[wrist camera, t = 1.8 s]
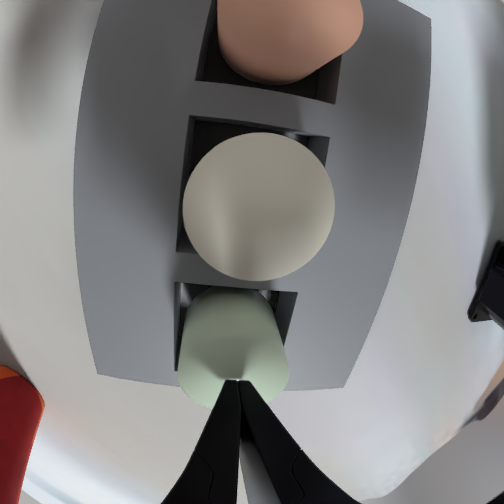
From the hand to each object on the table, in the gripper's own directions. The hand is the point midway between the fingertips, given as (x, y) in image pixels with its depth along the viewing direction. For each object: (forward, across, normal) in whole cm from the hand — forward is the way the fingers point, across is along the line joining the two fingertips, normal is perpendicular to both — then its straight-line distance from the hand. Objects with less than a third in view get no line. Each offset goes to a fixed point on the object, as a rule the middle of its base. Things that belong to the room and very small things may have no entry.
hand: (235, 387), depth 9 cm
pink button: (+4, 0, -12) cm, 13 cm away
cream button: (+4, 0, -6) cm, 7 cm away
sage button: (+4, 0, 0) cm, 4 cm away
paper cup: (+6, +17, +12) cm, 21 cm away
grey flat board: (+5, 0, -6) cm, 8 cm away
